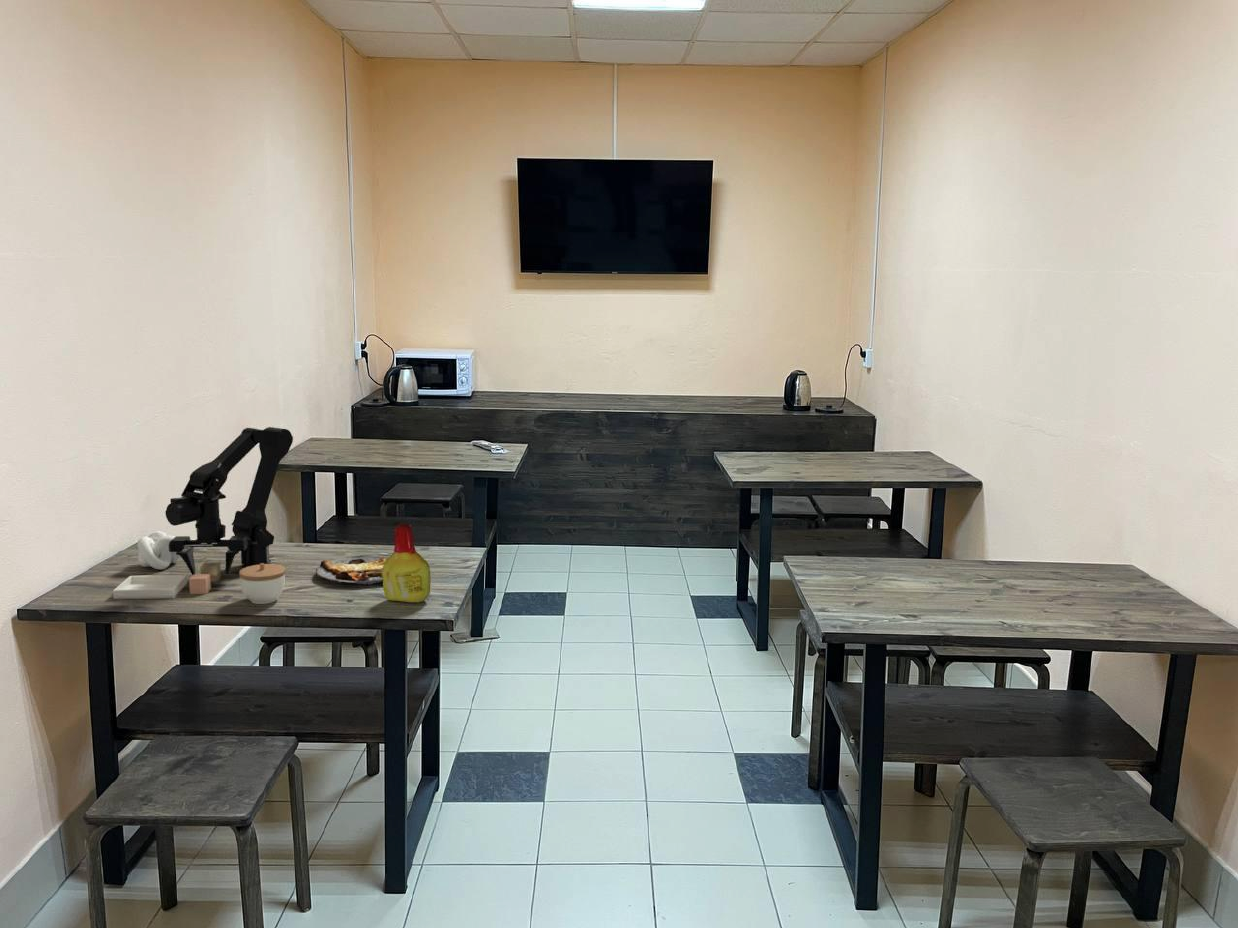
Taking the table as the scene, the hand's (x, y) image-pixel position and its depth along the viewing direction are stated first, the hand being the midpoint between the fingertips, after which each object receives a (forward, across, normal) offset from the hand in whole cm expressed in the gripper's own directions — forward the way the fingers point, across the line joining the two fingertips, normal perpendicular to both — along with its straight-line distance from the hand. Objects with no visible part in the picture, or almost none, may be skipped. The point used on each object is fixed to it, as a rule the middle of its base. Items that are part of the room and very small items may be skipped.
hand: (210, 575), depth 254 cm
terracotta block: (+1, 0, +10) cm, 10 cm away
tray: (+1, +12, +9) cm, 15 cm away
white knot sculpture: (+1, +17, -12) cm, 21 cm away
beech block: (+1, 0, 0) cm, 1 cm away
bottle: (+1, -52, +21) cm, 56 cm away
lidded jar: (+1, -17, +18) cm, 25 cm away
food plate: (+2, -39, -2) cm, 39 cm away
